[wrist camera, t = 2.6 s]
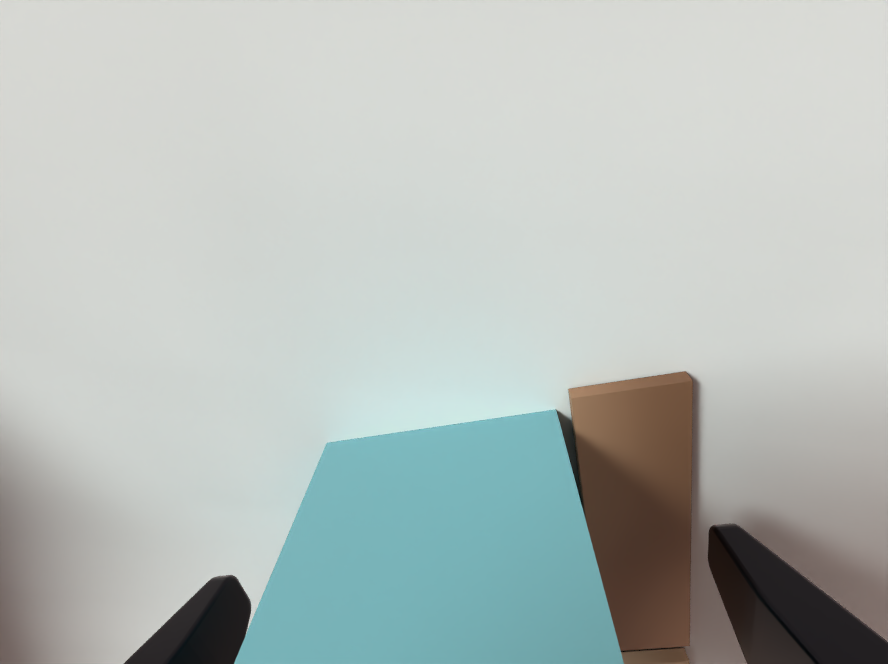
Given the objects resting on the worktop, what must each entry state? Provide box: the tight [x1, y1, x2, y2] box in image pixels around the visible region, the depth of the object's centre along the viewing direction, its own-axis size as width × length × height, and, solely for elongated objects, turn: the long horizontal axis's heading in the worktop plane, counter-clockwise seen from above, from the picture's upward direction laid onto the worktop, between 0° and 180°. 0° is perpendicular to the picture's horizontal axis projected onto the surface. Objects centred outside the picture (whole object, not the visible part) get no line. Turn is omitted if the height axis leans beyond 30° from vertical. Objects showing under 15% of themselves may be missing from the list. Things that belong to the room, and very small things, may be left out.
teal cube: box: [234, 410, 624, 664], centre depth 8 cm, size 4×4×4 cm
